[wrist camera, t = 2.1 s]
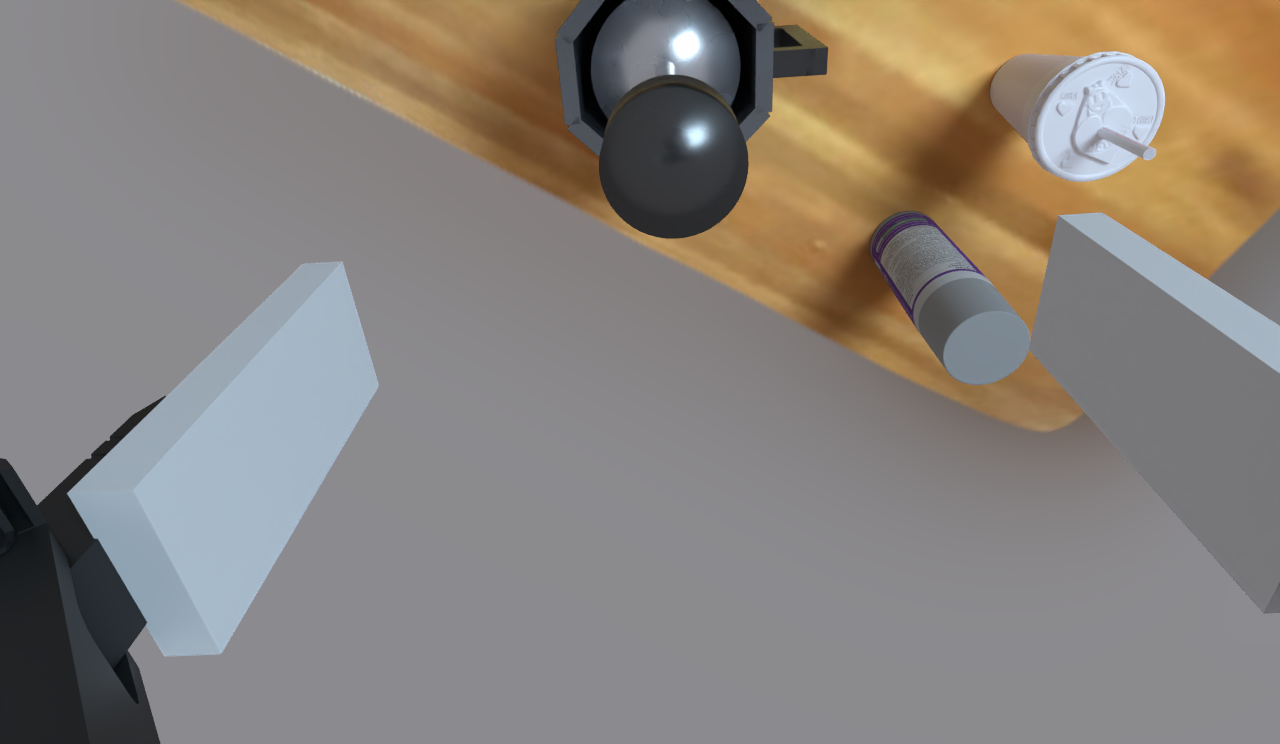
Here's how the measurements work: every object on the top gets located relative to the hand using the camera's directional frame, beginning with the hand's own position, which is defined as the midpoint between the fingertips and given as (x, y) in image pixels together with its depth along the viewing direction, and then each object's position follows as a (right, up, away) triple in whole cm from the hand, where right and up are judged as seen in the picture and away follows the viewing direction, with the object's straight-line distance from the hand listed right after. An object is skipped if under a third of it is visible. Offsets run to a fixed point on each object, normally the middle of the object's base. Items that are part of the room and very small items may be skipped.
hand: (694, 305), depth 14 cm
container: (+17, +8, +38) cm, 42 cm away
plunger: (0, +14, +23) cm, 26 cm away
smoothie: (+23, +17, +33) cm, 43 cm away
